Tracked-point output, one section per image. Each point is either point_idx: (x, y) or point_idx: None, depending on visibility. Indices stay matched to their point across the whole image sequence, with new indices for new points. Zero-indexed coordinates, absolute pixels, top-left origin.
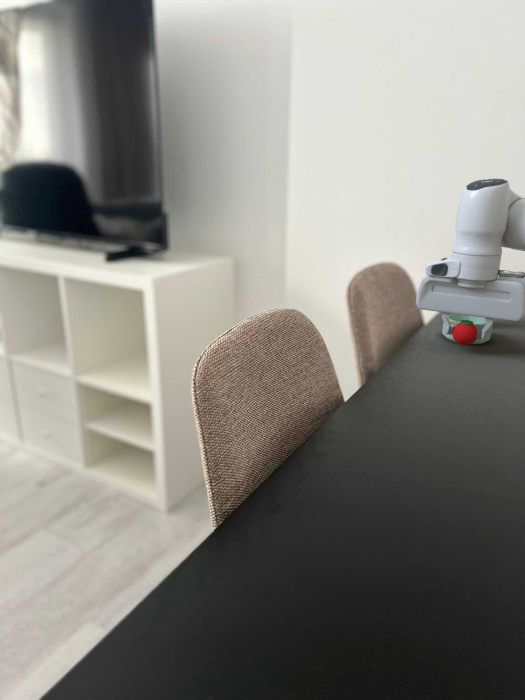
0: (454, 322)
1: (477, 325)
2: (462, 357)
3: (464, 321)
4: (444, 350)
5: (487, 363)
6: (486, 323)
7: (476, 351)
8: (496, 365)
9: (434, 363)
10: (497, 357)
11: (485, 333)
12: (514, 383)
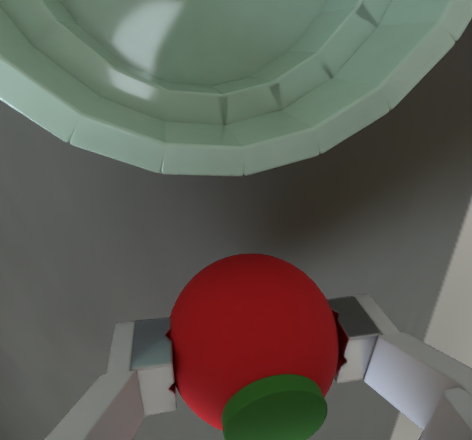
0: (103, 150)
1: (343, 137)
2: None
3: (257, 431)
4: (142, 293)
5: None
6: (447, 18)
7: (292, 215)
8: None
9: (158, 429)
10: (380, 241)
11: (380, 310)
12: (389, 411)
